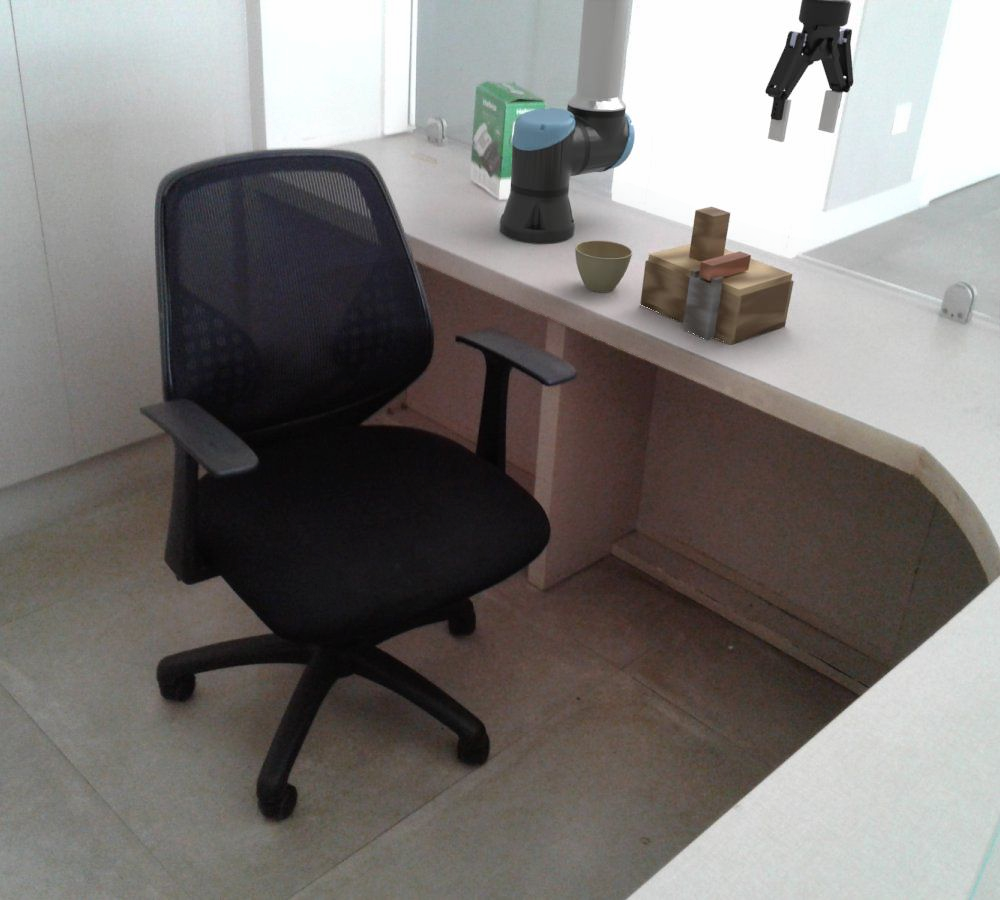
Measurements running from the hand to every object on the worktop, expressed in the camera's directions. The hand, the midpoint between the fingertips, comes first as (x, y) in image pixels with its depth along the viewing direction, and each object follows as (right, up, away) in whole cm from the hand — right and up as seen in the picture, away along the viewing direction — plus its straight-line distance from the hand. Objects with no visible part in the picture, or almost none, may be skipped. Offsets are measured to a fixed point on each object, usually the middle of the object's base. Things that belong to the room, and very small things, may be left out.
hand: (801, 135), depth 174 cm
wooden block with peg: (-14, -23, -1) cm, 26 cm away
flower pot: (-32, -23, +13) cm, 42 cm away
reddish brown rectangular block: (-14, -24, -6) cm, 28 cm away
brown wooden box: (-14, -29, +3) cm, 33 cm away
